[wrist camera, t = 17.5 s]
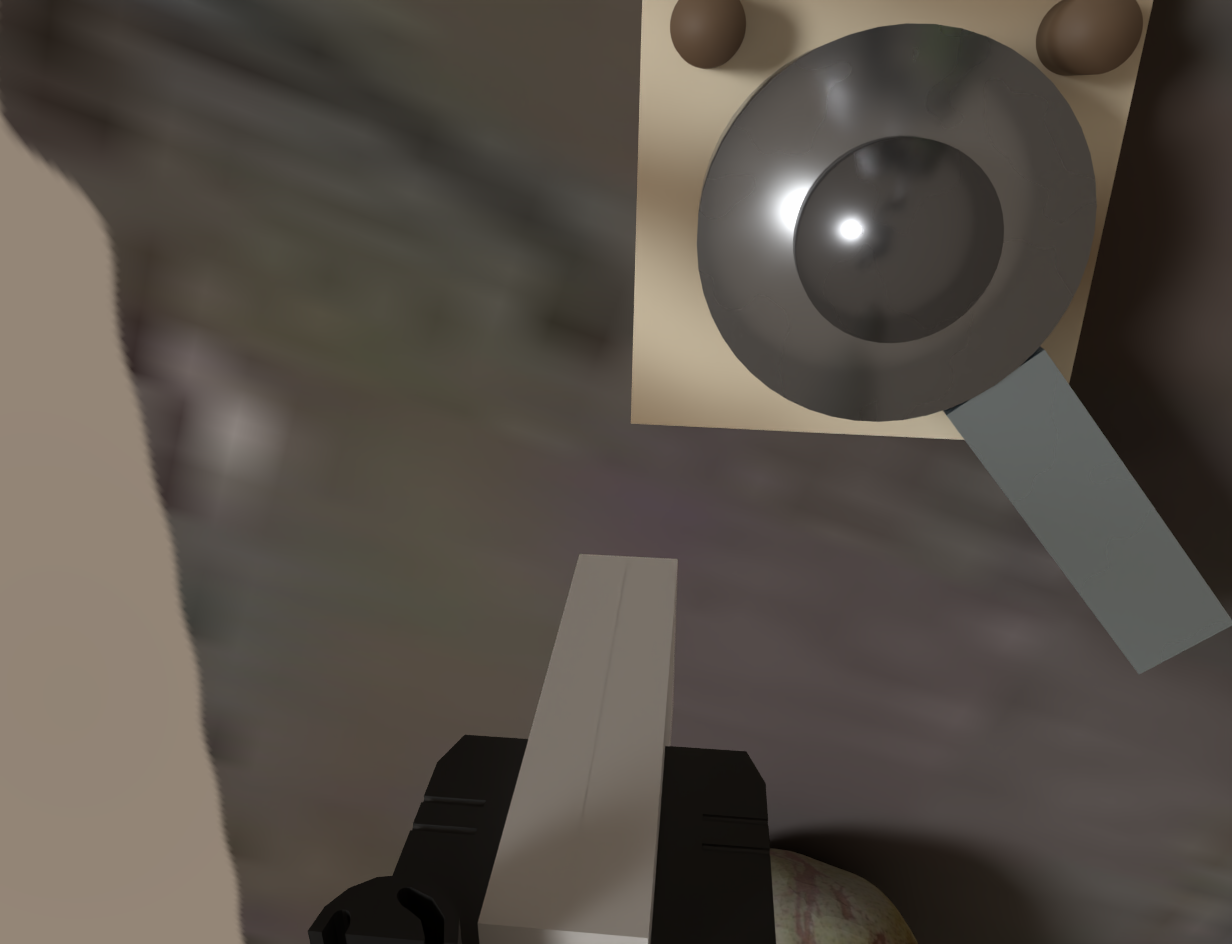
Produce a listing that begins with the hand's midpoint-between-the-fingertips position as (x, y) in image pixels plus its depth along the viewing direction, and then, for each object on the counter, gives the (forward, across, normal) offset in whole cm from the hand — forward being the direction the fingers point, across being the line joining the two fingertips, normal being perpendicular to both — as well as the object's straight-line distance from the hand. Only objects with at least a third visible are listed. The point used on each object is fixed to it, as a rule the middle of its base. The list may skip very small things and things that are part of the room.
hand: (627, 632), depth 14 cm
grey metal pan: (+11, +7, +1) cm, 13 cm away
